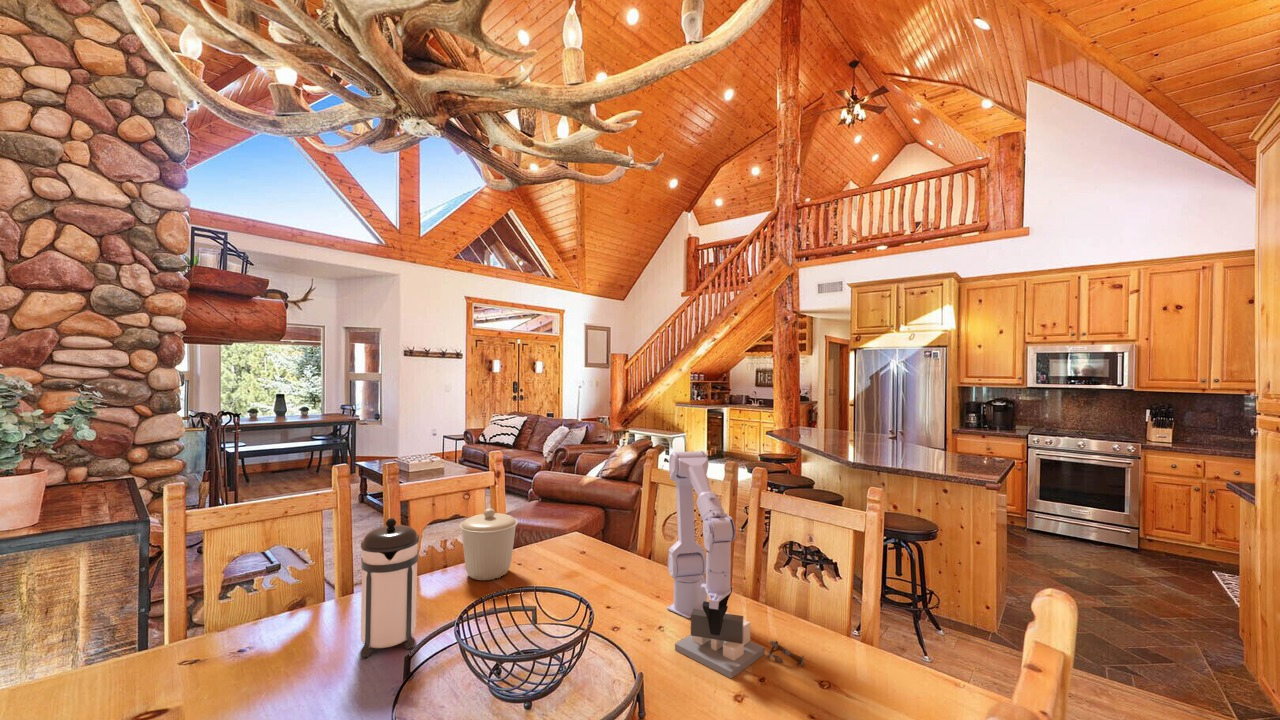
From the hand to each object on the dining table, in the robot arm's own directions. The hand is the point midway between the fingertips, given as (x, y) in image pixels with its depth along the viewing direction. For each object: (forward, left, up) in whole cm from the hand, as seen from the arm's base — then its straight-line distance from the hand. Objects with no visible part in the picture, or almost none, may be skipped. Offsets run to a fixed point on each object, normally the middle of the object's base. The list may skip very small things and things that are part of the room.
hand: (717, 626), depth 122 cm
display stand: (-1, 0, -6) cm, 6 cm away
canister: (+15, -79, -7) cm, 81 cm away
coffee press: (+53, -60, -7) cm, 80 cm away
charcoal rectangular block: (0, 0, -2) cm, 2 cm away
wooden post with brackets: (-8, +13, -7) cm, 17 cm away
